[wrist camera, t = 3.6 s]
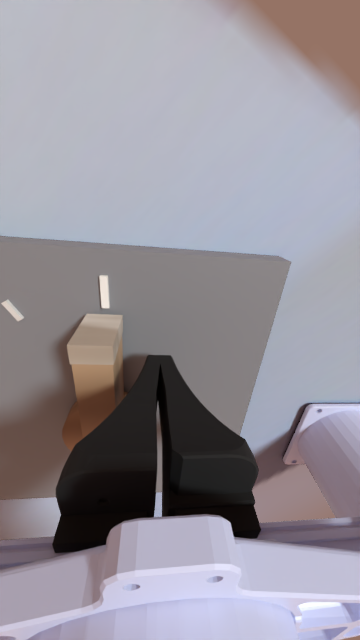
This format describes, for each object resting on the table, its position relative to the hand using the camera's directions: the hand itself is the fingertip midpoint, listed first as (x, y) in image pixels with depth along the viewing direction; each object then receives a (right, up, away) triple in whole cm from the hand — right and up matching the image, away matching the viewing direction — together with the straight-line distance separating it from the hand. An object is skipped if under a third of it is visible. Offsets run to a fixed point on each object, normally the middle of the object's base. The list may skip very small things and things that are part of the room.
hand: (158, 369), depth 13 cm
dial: (-3, -2, +2) cm, 5 cm away
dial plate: (-5, -3, +5) cm, 7 cm away
